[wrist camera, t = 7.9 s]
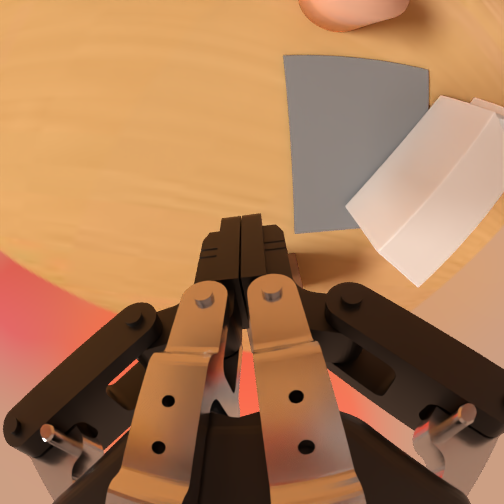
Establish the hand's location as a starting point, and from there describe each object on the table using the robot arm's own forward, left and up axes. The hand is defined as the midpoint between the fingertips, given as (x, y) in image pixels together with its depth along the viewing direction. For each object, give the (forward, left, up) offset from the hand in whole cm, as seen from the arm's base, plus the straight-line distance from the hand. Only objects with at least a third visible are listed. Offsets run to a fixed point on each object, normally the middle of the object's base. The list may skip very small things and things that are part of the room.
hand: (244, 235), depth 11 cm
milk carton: (+8, +11, -9) cm, 16 cm away
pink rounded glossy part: (-13, +8, -13) cm, 20 cm away
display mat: (0, +10, -13) cm, 16 cm away
